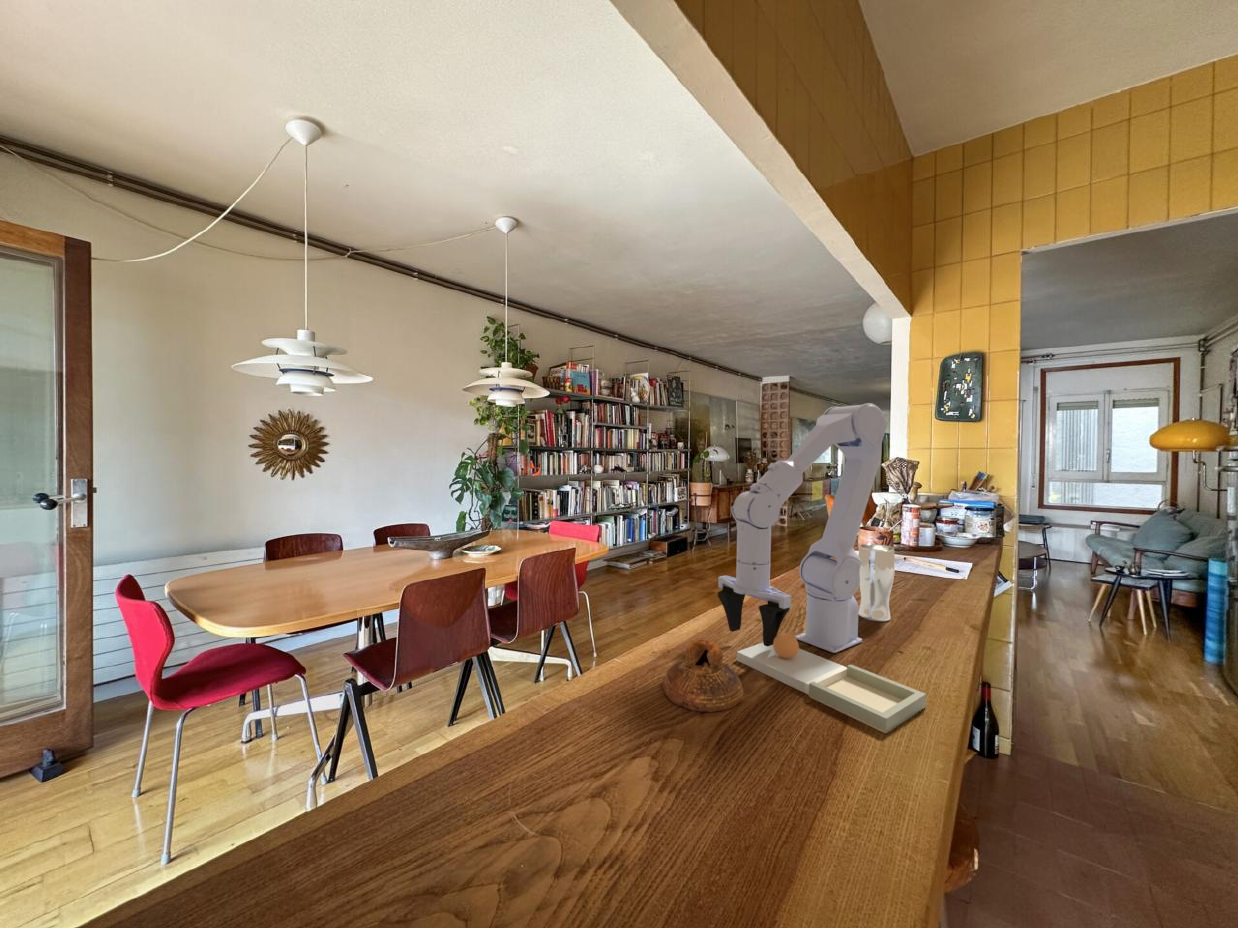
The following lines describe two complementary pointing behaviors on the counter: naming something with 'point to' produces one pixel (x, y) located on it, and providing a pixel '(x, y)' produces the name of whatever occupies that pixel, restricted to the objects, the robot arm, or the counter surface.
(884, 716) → the tray
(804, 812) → the counter surface
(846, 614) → the robot arm
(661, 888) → the counter surface
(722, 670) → the bell
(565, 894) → the counter surface
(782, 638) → the ball
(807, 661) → the plate
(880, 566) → the beer glass
